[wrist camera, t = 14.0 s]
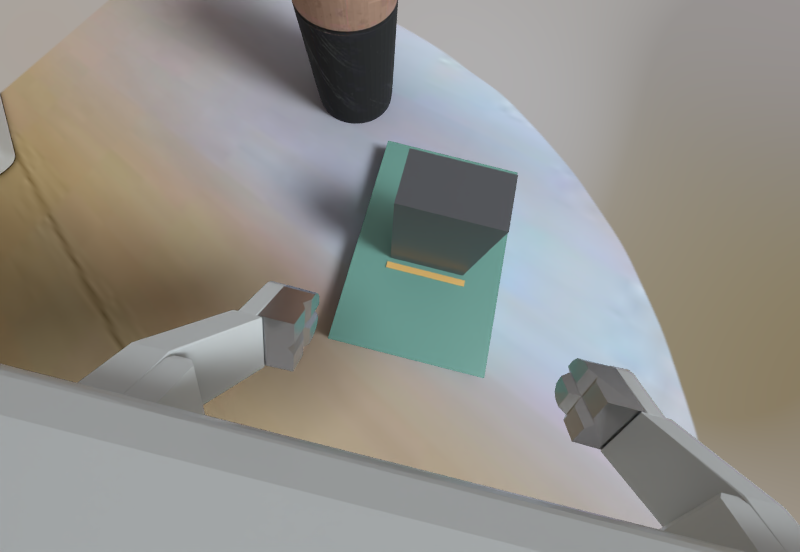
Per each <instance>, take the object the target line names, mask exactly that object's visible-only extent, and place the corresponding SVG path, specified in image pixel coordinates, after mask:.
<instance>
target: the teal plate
mask: <svg viewBox="0 0 800 552" xmlns="http://www.w3.org/2000/svg"><path fill="white" fill-rule="evenodd" d="M409 148H411V149H415V150H419V151H423V152H427V153H431V154H435V155H439V156H443V157H447V158H451V159H455V160H459V161H463V162H467V163H472V164H476V165H480V166H484V167H488V168H492V169H496V170H500V171H504V172H508V173H512V174H516V175H517V173H516V172H512V171H508V170H504V169H500V168H496V167H492V166H488V165H484V164H480V163H476V162H472V161H468V160H464V159H460V158H456V157H452V156H448V155H444V154H440V153H436V152H432V151H427V150H423V149H419V148H415V147H411V146H407V145H403V144H399V143H395V142H391V141H388V143H387V146H386V150H385V153H384V156H383V159H382V163H381V166H380V169H379V173H378V176H377V179H376V182H375V186H374V189H373V192H372V196H371V199H370V202H369V205H368V209H367V212H366V215H365V218H364V222H363V225H362V228H361V232H360V235H359V238H358V241H357V245H356V248H355V251H354V255H353V258H352V261H351V264H350V268H349V271H348V274H347V277H346V281H345V284H344V287H343V291H342V294H341V297H340V300H339V304H338V307H337V310H336V314H335V317H334V320H333V323H332V327H331V330H330V333H329V337H328V338H329V339H333V340H337V341H341V342H345V343H348V344H352V345H356V346H360V347H364V348H368V349H372V350H376V351H380V352H384V353H388V354H391V355H395V356H399V357H403V358H407V359H411V360H415V361H419V362H423V363H427V364H430V365H434V366H438V367H442V368H446V369H450V370H454V371H458V372H462V373H466V374H470V375H473V376H477V377H481V378H484V375H485V369H486V363H487V357H488V351H489V345H490V339H491V332H492V326H493V320H494V314H495V308H496V302H497V296H498V289H499V283H500V277H501V271H502V265H503V259H504V253H505V246H506V240H507V234H508V233H507V234H506V235H505V236H504V237H503V238H502V239H501V240H500V241H499V242H498V243H497V244H495V245H494V246H493V247H492V248H491V249H490V250H489V251H488V252H487V253H486V254H485V255H484V256H483V257H482V258H481V259H480V260H479V261H478V262H476V263H475V264H474V265H473V266H472V267H471V268H470V269H469V270H468V271H467V272H466V273H465V274H464V275H463V276H462V275H458V274H454V273H450V272H446V271H442V270H438V269H434V268H430V267H426V266H422V265H418V264H414V263H410V262H406V261H402V260H398V259H394V258H391V243H392V228H393V213H394V202H395V198H396V195H397V191H398V188H399V184H400V181H401V177H402V173H403V170H404V166H405V163H406V159H407V155H408V152H409Z"/></svg>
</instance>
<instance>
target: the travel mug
mask: <svg viewBox="0 0 800 552" xmlns="http://www.w3.org/2000/svg"><path fill="white" fill-rule="evenodd" d="M292 3H293V6H294V10H295V13H296V17H297V20H298V23H299V27H300V30H301V34H302V37H303V40H304V44H305V47H306V51H307V54H308V57H309V61H310V64H311V68H312V71H313V75H314V78H315V81H316V85H317V88H318V91H319V95H320V98H321V101H322V103H323V105H324V107H325V108H326V110H327V111H328V112H329V113H330V114H331V115H332V116H334V117H335V118H337V119H339V120H342V121H344V122H348V123H365V122H369V121H372V120H374V119H376V118H378V117H379V116H380V115H382V114H383V113H384V112H385V111H386V109H387V108H388V106H389V104H390V101H391V95H392V84H393V69H394V54H395V38H396V23H397V7H398V0H292Z"/></svg>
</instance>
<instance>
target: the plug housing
mask: <svg viewBox="0 0 800 552" xmlns="http://www.w3.org/2000/svg"><path fill="white" fill-rule="evenodd" d="M517 177H518V175H516V174H512V173H508V172H504V171H500V170H496V169H492V168H488V167H484V166H480V165H476V164H472V163H467V162H463V161H459V160H455V159H451V158H447V157H443V156H439V155H435V154H431V153H427V152H423V151H419V150H415V149H411V148H409V152H408V155H407V159H406V163H405V166H404V170H403V173H402V177H401V181H400V184H399V188H398V191H397V195H396V198H395V202H394V213H393V228H392V243H391V258H394V259H398V260H402V261H406V262H410V263H414V264H418V265H422V266H426V267H430V268H434V269H438V270H442V271H446V272H450V273H454V274H458V275H462V276H463V275H464V274H465V273H466V272H467V271H468V270H469V269H470V268H471V267H472V266H473V265H474V264H475V263H476V262H478V261H479V260H480V259H481V258H482V257H483V256H484V255H485V254H486V253H487V252H488V251H489V250H490V249H491V248H492V247H493V246H494V245H495V244H497V243H498V242H499V241H500V240H501V239H502V238H503V237H504V236H505V235H506V234H507V233H508V232H509V227H510V221H511V215H512V208H513V202H514V196H515V190H516V184H517Z"/></svg>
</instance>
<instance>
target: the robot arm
mask: <svg viewBox="0 0 800 552" xmlns="http://www.w3.org/2000/svg"><path fill="white" fill-rule="evenodd" d="M14 159H15V153H14V149H13V145H12V141H11V137H10V133H9V128H8V124H7V120H6V116H5V112H4V108H3V104H2V100H1V96H0V174H1V173H2V172H3V171H5V170H6V169H7V168H8V167H9V166H10V165H11V164H12V163H13V161H14ZM318 305H319V295H318V293H315V292H311V291H308V290H304V289H300V288H297V287H293V286H289V285H285V284H281V283H277V282H274V281H270V282H267V283H266V284H265V285H264V286H263V287H262V288H261V289H260V290H259V291H258V292H257V293H256V294H255V295H254V296H253V297H252V298H251V299H250V300H249V301H248V302H247V303H246V304H245V305H244V306H243V307H242V308H240V309H239V310H238V311H236V310H231V311H228V312H225V313H222V314H218V315H215V316H212V317H209V318H206V319H203V320H200V321H197V322H194V323H191V324H188V325H184V326H181V327H178V328H175V329H172V330H169V331H166V332H163V333H160V334H157V335H153V336H150V337H147V338H144V339H141V340H138V341H135V342H132V343H130V344H129V345H128V346H126V347H125V348H124V349H122V350H121V351H120V352H118V353H117V354H115V355H114V356H113V357H111V358H110V359H109V360H107V361H106V362H105V363H103V364H102V365H101V366H99V367H98V368H97V369H95V370H94V371H93V372H91V373H90V374H89V375H87V376H86V377H85V378H83V379H82V380H80V381H79V382H78V383H76V382H72V381H68V380H64V379H60V378H56V377H52V376H48V375H44V374H40V373H36V372H32V371H28V370H24V369H20V368H16V367H12V366H8V365H4V364H0V552H800V525H799V524H798V523H797V522H796V521H795V519H794V518H793V517H792V516H791V515H790V514H789V512H788V511H787V510H786V509H785V508H784V507H783V506H782V505H781V504H779V503H778V502H777V501H775V500H774V499H773V498H772V497H770V496H769V495H768V494H766V493H765V492H764V491H763V490H761V489H760V488H759V487H757V486H756V485H755V484H753V483H752V482H751V481H750V480H748V479H747V478H746V477H745V476H743V475H742V474H741V473H739V472H738V471H737V470H736V469H734V468H733V467H732V466H730V465H729V464H728V463H727V462H725V461H724V460H723V459H721V458H720V457H719V456H718V455H716V454H715V453H714V452H712V451H711V450H710V449H708V448H707V447H706V446H705V445H703V444H702V443H701V442H700V441H698V440H697V439H696V438H695V437H693V436H692V435H691V434H689V433H688V432H687V431H686V430H684V429H683V428H682V427H680V426H679V425H678V424H677V423H675V422H674V421H673V420H671V419H668V418H665V416H664V415H663V413H662V412H661V411H660V409H659V408H658V407H657V405H656V404H655V402H654V401H653V400H652V398H651V397H650V396H649V394H648V393H647V392H646V390H645V389H644V387H643V386H642V385H641V383H640V382H639V381H638V379H637V378H636V376H635V375H634V374H633V373H632V372H630V371H629V370H627V369H623V368H618V367H614V366H607V365H603V364H599V363H595V362H591V361H587V360H583V359H579V358H577V359H575V360H574V361H572V362H571V364H570V365H569V366H568V367H569V372H570V373H567V374H565V375H563V376H561V377H560V379H559V380H558V382H557V383H556V388H555V398H556V402H557V404H558V407H559V408H560V409H561V410H562V411H563V412H564V413H565V414H566V415H565V418H564V422H565V425H566V427H567V430H568V433H569V435H570V438H571V440H572V442H576V443H579V444H583V445H587V446H590V447H594V448H597V449H601V452H602V453H603V455H604V456H605V457H606V458H607V459H608V461H609V462H610V463H611V464H612V465H613V467H614V468H615V469H616V470H617V472H618V473H619V474H620V475H621V476H622V478H623V479H624V480H625V481H626V482H627V484H628V485H629V486H630V487H631V489H632V490H633V491H634V492H635V493H636V495H637V496H638V497H639V498H640V500H641V501H642V502H643V503H644V504H645V506H646V507H647V508H648V509H649V510H650V512H651V513H652V514H653V515H654V517H655V518H656V519H657V520H658V521H659V523H660V524H661V525H662V526H663V527H662V528H661V529H659V530H658V529H654V528H650V527H646V526H643V525H639V524H635V523H631V522H627V521H623V520H619V519H615V518H611V517H607V516H603V515H599V514H595V513H591V512H587V511H583V510H579V509H575V508H571V507H567V506H563V505H559V504H555V503H551V502H547V501H543V500H539V499H535V498H531V497H527V496H523V495H519V494H515V493H511V492H507V491H503V490H499V489H495V488H491V487H487V486H483V485H479V484H475V483H472V482H468V481H464V480H460V479H456V478H452V477H448V476H444V475H440V474H436V473H432V472H428V471H424V470H420V469H416V468H412V467H408V466H404V465H400V464H396V463H392V462H388V461H385V460H381V459H377V458H373V457H369V456H365V455H361V454H357V453H353V452H349V451H345V450H341V449H337V448H333V447H329V446H325V445H321V444H317V443H313V442H309V441H305V440H301V439H297V438H293V437H289V436H285V435H282V434H278V433H274V432H270V431H266V430H262V429H258V428H254V427H250V426H246V425H242V424H238V423H234V422H230V421H226V420H222V419H218V418H214V417H210V416H206V415H205V412H204V408H203V405H204V404H205V403H207V402H209V401H210V400H212V399H213V398H215V397H217V396H218V395H220V394H221V393H223V392H225V391H226V390H228V389H229V388H231V387H233V386H234V385H236V384H238V383H239V382H241V381H242V380H244V379H246V378H247V377H249V376H250V375H252V374H254V373H255V372H257V371H258V370H260V369H262V368H263V367H264V365H266V366H271V367H275V368H280V369H284V370H289V371H294V369H295V368H296V366H297V364H298V362H299V361H300V359H301V357H302V356H303V347H304V346H306V345H308V344H309V343H310V341H311V340H312V338H313V335H314V333H315V330H316V326H317V321H318V315H317V313H316V312H315V310H316V308H317V307H318Z"/></svg>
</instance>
